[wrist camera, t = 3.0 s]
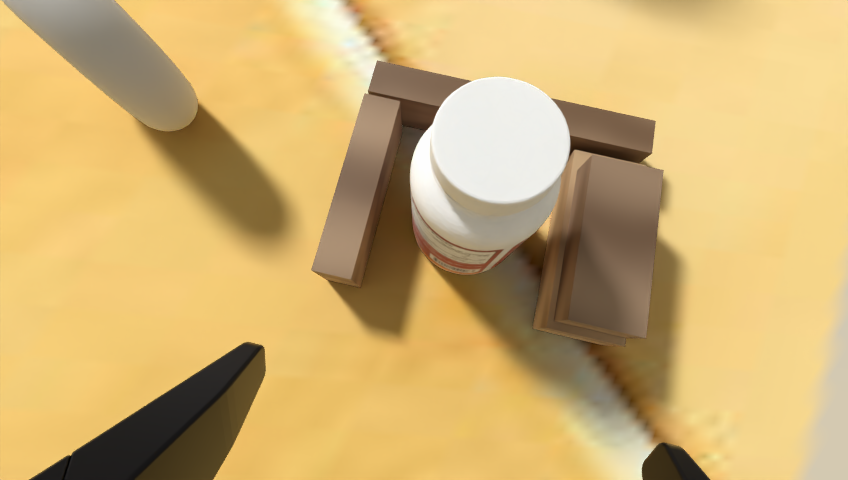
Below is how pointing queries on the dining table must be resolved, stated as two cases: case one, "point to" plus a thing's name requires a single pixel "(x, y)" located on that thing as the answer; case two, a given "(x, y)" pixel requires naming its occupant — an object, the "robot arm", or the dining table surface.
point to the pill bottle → (486, 173)
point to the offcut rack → (570, 221)
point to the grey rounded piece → (114, 57)
